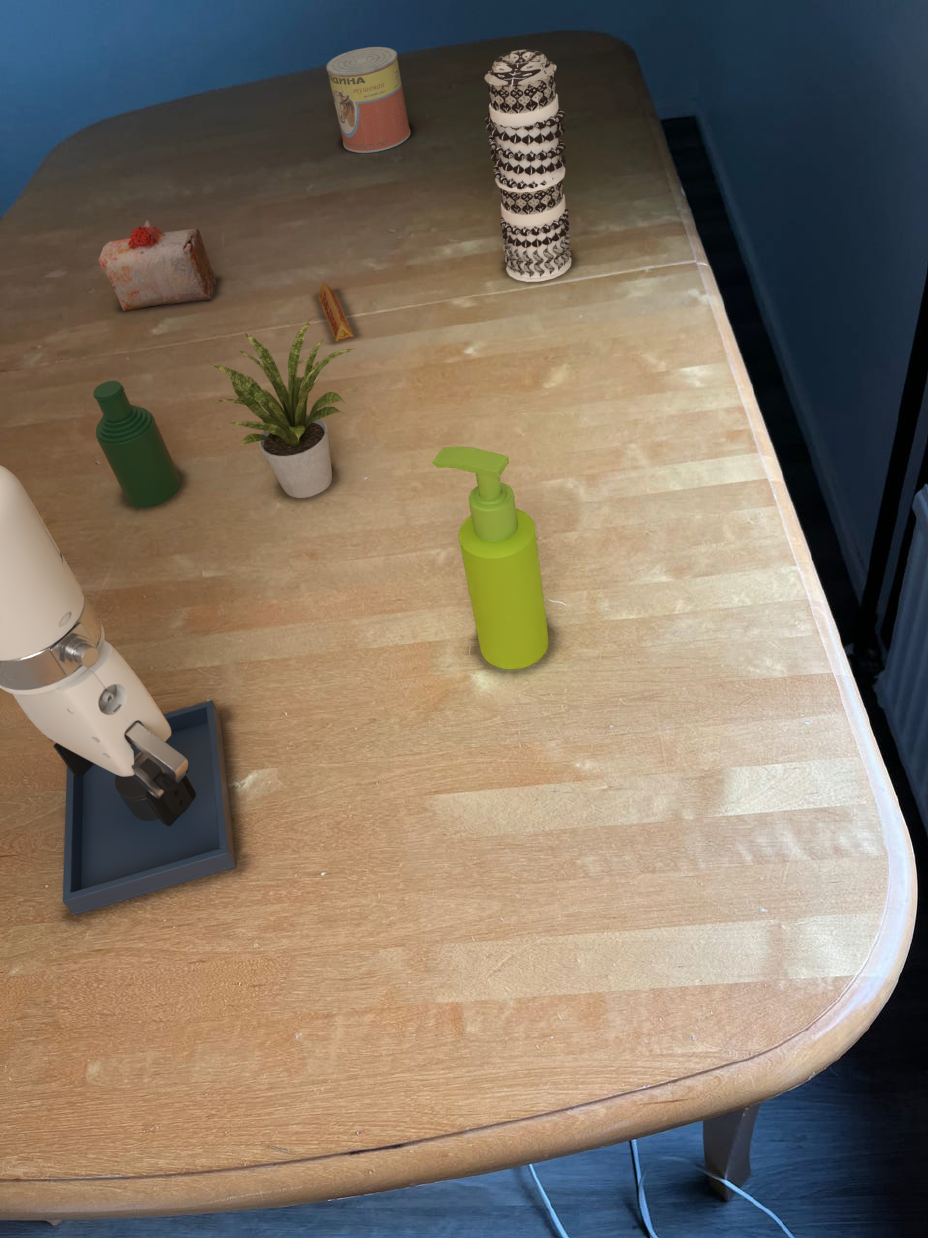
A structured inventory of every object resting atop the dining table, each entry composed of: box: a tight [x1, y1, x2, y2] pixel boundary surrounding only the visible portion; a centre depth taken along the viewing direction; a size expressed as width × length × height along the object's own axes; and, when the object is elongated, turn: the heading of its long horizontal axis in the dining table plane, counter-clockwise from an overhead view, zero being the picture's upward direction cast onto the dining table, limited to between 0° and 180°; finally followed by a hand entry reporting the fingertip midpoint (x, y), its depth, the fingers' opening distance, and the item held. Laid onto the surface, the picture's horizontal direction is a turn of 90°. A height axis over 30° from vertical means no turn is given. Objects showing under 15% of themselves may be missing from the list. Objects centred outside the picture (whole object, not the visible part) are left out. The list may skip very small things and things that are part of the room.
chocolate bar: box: [317, 281, 354, 342], centre depth 129 cm, size 3×12×2 cm, turn 16°
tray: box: [62, 699, 237, 916], centre depth 80 cm, size 15×12×2 cm
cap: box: [115, 757, 162, 821], centre depth 79 cm, size 4×4×3 cm
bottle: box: [92, 380, 182, 508], centre depth 105 cm, size 6×6×13 cm
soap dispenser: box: [432, 446, 550, 670], centre depth 80 cm, size 6×7×20 cm
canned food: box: [325, 46, 412, 154], centre depth 164 cm, size 11×11×12 cm
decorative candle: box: [484, 49, 572, 283], centre depth 122 cm, size 9×9×25 cm
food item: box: [98, 219, 217, 312], centre depth 137 cm, size 14×8×10 cm, turn 89°
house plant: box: [210, 318, 356, 499], centre depth 101 cm, size 14×14×16 cm
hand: (134, 785), depth 78 cm, fingers open, 9 cm apart
